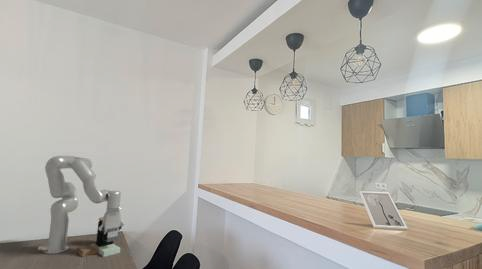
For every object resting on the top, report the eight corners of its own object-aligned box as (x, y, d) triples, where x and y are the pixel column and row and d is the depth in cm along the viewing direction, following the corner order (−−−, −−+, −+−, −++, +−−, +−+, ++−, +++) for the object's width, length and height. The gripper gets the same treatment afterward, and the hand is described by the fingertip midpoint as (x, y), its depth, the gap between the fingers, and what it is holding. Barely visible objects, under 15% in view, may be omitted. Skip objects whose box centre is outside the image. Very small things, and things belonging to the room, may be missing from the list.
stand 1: (82, 256, 153) (83, 251, 153) (76, 252, 159) (77, 247, 160) (100, 252, 161) (100, 247, 161) (93, 248, 167) (94, 243, 167)
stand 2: (103, 256, 155) (104, 251, 155) (97, 252, 161) (97, 247, 161) (119, 252, 162) (120, 247, 163) (113, 248, 169) (113, 243, 169)
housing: (103, 239, 162) (103, 229, 163) (113, 237, 167) (114, 227, 168) (107, 242, 158) (108, 231, 159) (117, 239, 163) (118, 229, 163)
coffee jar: (110, 241, 183) (112, 215, 184) (115, 245, 175) (118, 218, 177) (93, 243, 175) (96, 217, 177) (98, 248, 168) (101, 220, 169)
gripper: (123, 207, 173) (121, 234, 172) (96, 211, 160) (93, 240, 158) (128, 209, 168) (126, 237, 167) (101, 213, 155) (98, 243, 154)
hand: (110, 238), depth 163 cm, fingers closed on housing, 6 cm apart
